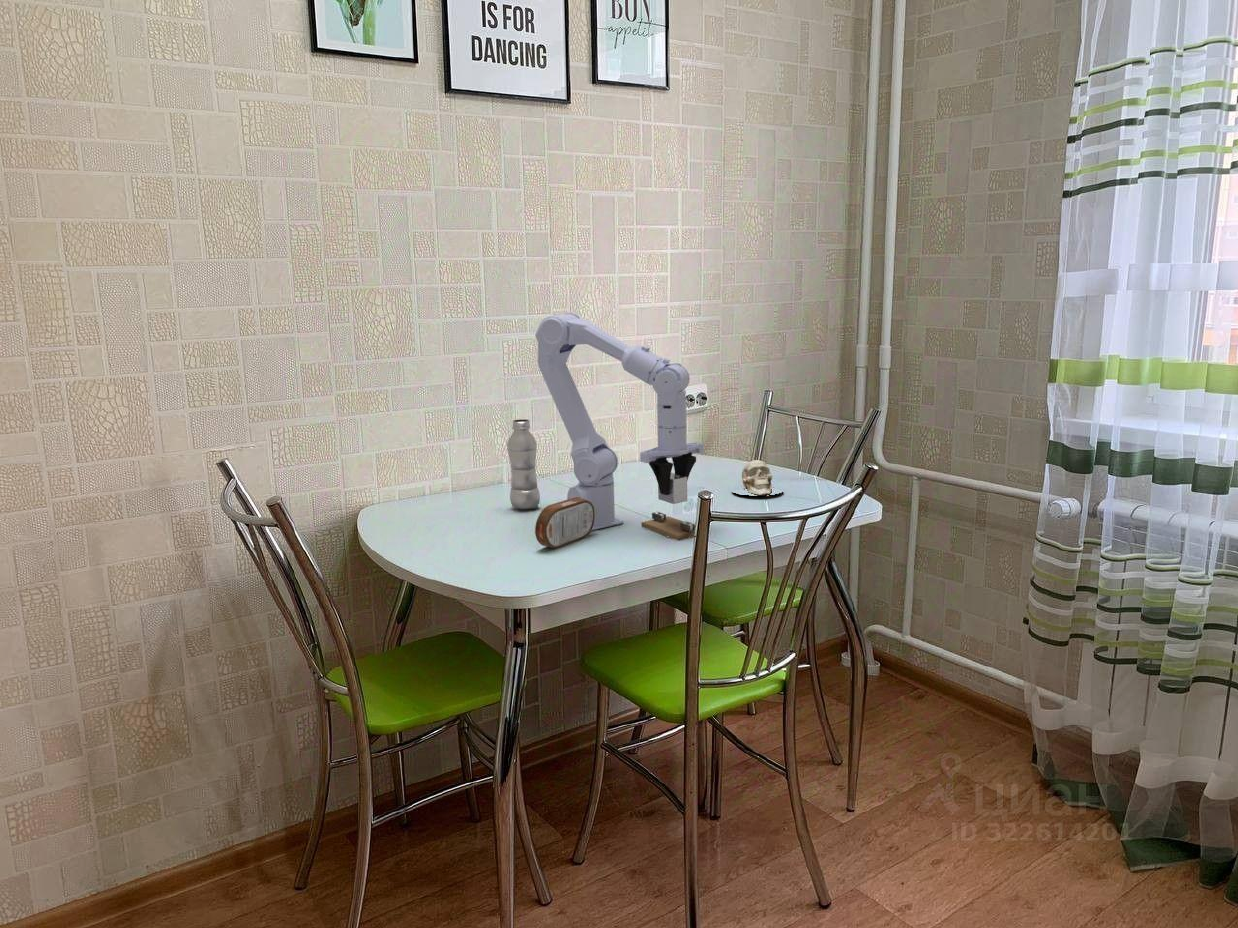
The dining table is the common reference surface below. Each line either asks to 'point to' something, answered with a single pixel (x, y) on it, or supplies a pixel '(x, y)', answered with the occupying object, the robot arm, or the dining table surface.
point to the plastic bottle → (523, 466)
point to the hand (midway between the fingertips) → (672, 492)
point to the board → (668, 528)
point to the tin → (564, 522)
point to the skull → (757, 478)
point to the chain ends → (683, 525)
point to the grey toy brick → (675, 490)
